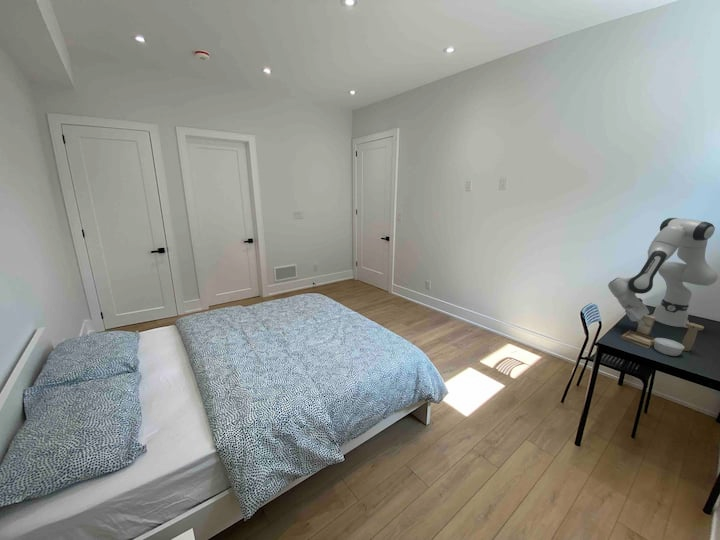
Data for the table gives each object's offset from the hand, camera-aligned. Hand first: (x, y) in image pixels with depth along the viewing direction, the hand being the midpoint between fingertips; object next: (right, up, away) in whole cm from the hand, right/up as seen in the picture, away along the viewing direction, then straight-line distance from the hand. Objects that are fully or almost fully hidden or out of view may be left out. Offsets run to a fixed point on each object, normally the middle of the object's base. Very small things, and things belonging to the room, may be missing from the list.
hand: (647, 324), depth 171 cm
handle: (+8, -11, -12) cm, 19 cm away
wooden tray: (-9, -8, -4) cm, 13 cm away
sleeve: (-1, -6, +3) cm, 7 cm away
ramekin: (-4, -12, -14) cm, 19 cm away
